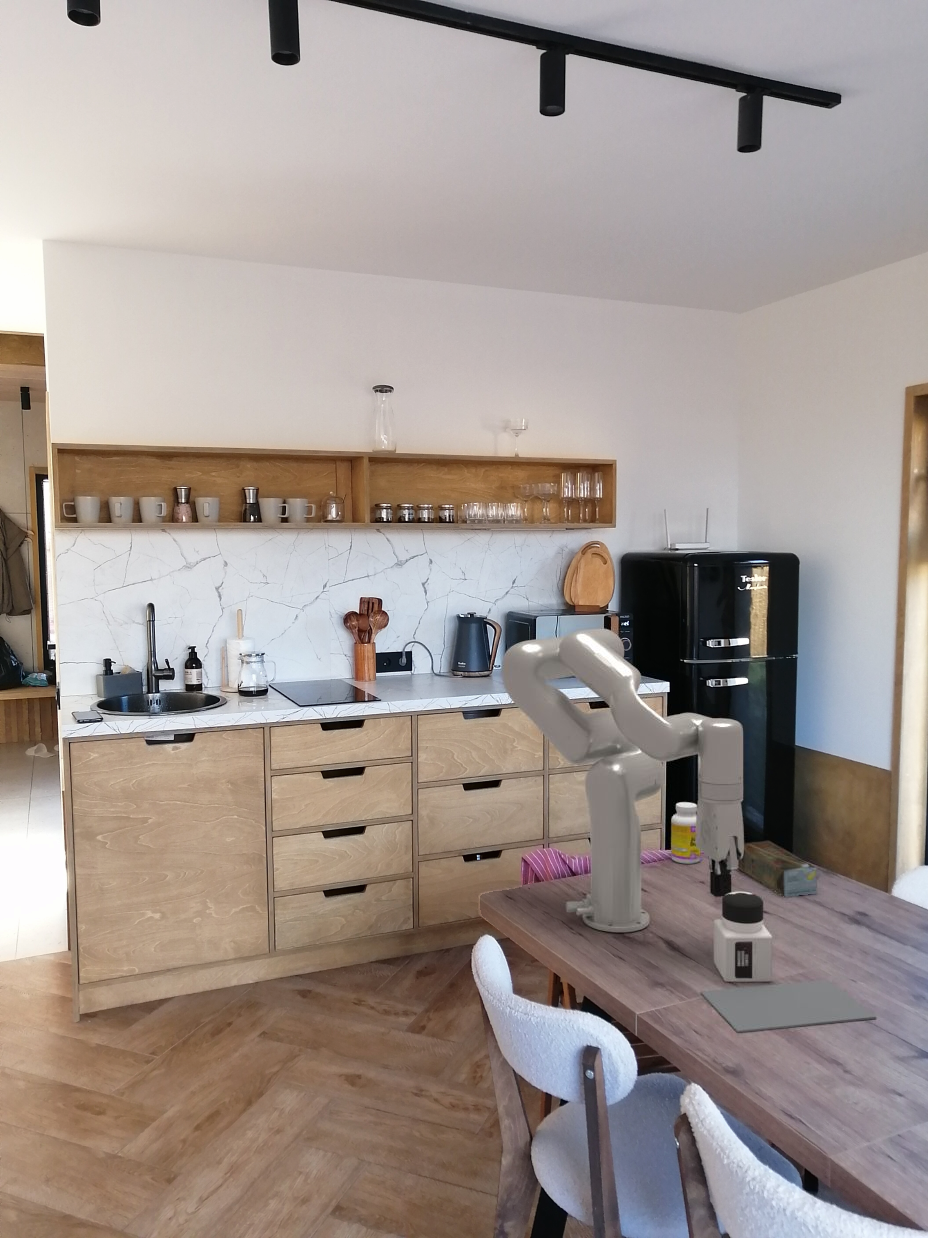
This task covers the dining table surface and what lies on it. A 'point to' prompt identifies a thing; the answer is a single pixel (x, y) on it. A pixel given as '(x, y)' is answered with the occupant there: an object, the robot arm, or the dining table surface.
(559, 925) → the dining table surface
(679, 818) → the supplement bottle
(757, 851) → the beverage carton
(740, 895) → the container
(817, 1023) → the rubber mat
